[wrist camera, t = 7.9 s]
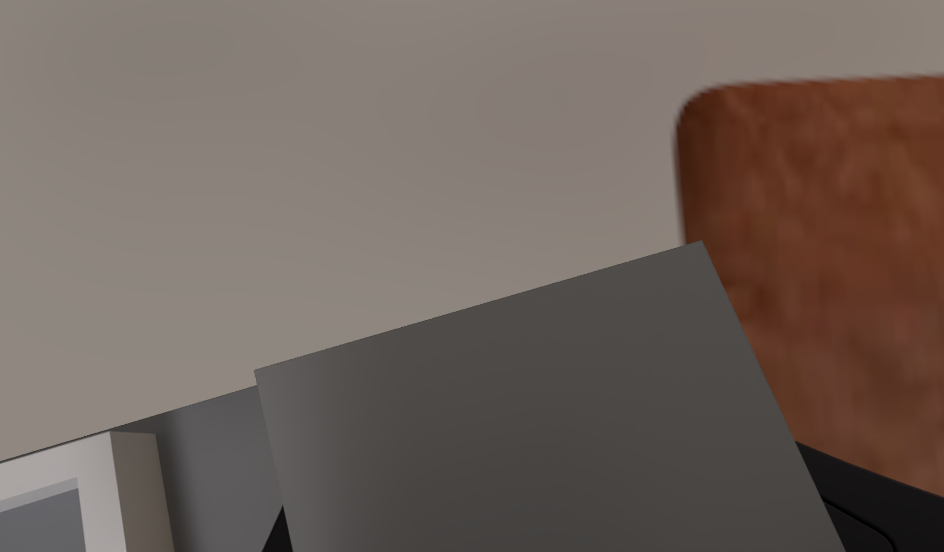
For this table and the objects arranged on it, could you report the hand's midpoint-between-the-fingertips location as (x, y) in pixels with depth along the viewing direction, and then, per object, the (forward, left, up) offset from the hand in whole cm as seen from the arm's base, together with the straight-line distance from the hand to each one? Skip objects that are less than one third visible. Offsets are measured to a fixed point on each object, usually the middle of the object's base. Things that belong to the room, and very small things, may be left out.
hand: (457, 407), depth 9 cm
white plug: (-1, +1, -6) cm, 6 cm away
